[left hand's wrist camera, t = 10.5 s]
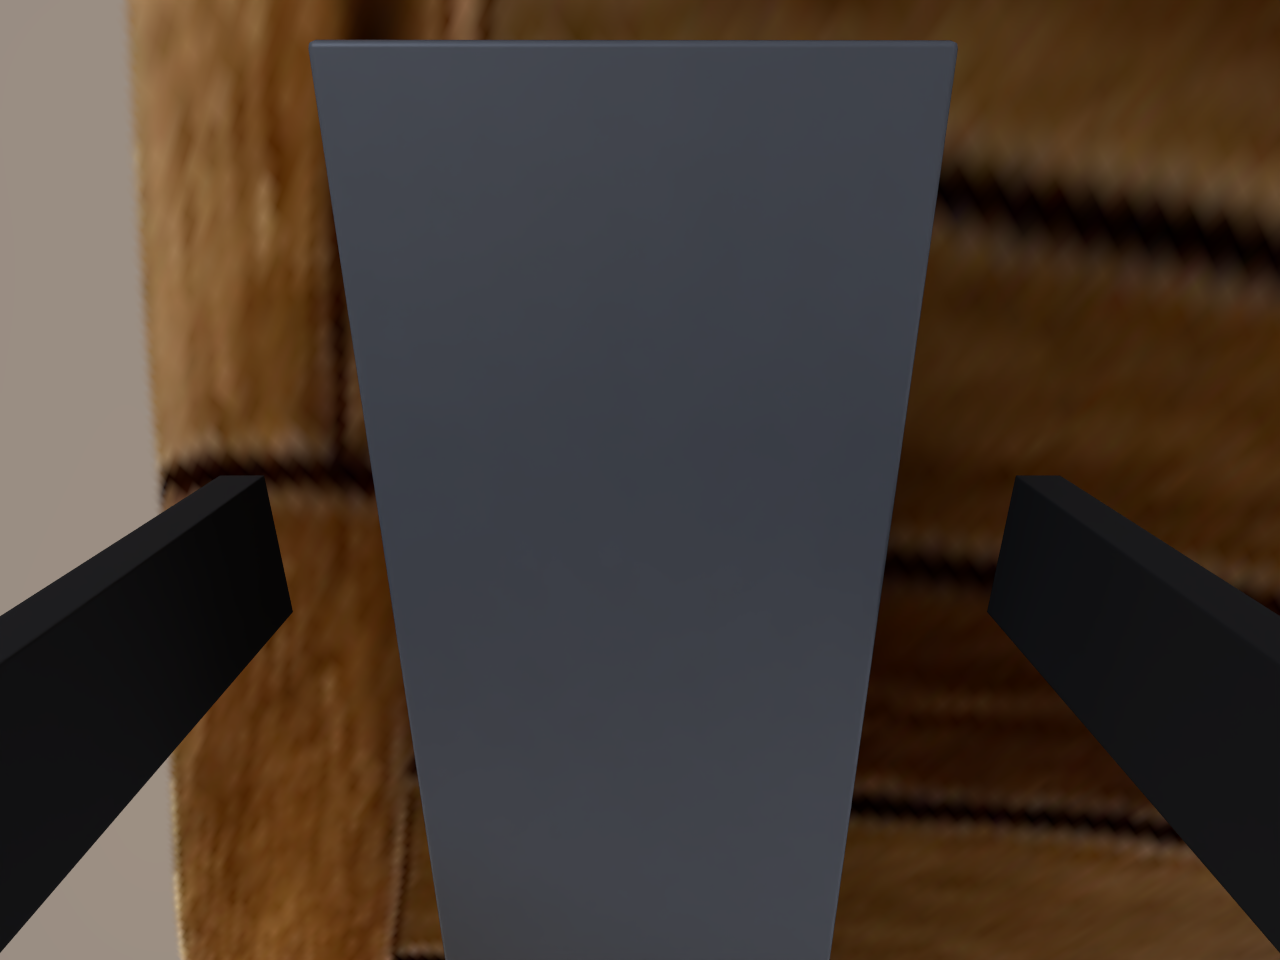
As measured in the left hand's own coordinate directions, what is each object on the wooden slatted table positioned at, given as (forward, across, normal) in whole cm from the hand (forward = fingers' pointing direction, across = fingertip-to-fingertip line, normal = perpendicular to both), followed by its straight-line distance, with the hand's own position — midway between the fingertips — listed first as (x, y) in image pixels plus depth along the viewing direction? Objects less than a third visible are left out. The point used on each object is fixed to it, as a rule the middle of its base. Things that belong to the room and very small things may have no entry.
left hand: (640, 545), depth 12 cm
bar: (+4, 0, -23) cm, 23 cm away
